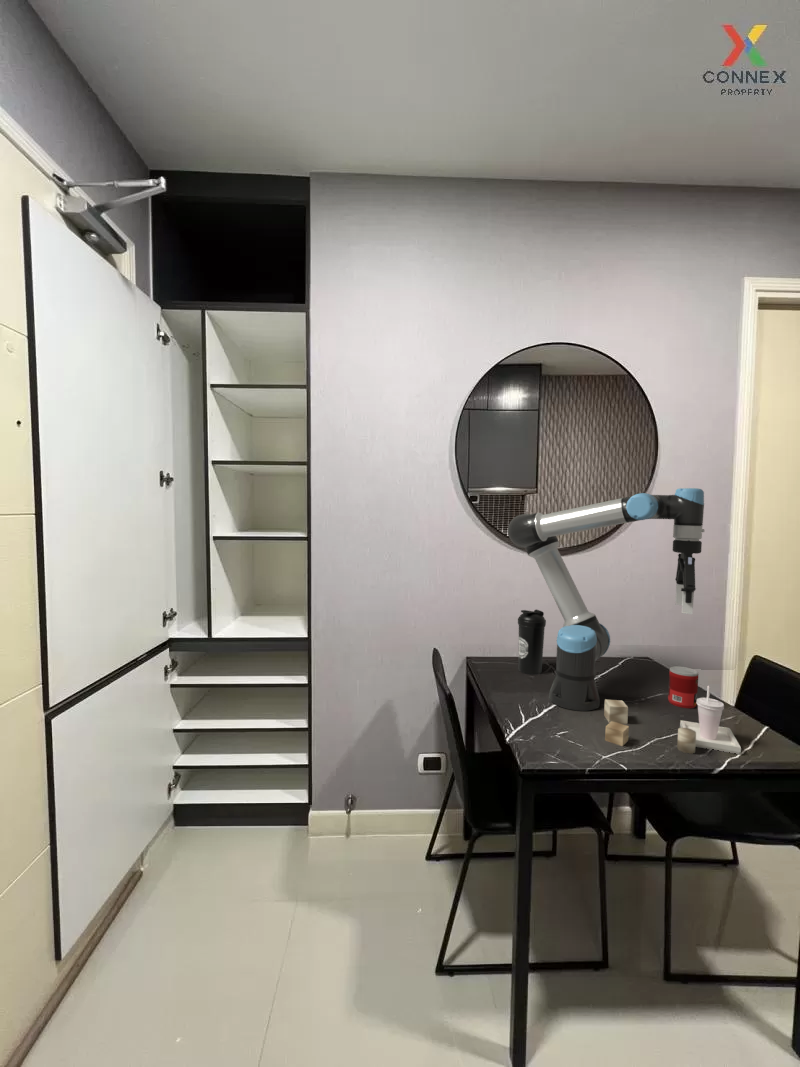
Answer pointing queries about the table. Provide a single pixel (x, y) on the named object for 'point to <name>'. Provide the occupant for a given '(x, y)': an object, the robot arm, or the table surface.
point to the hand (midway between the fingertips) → (683, 609)
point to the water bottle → (531, 641)
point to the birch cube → (616, 711)
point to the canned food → (683, 687)
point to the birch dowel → (686, 740)
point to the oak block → (616, 733)
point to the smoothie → (709, 716)
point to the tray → (722, 742)
